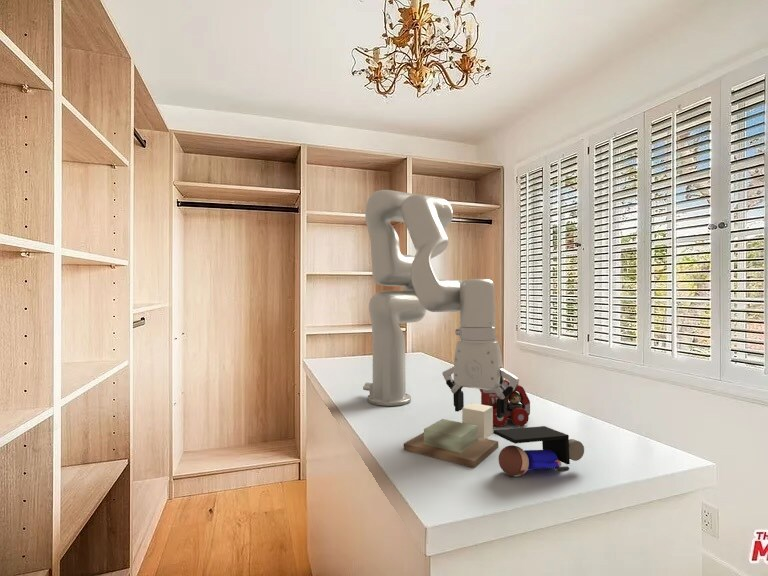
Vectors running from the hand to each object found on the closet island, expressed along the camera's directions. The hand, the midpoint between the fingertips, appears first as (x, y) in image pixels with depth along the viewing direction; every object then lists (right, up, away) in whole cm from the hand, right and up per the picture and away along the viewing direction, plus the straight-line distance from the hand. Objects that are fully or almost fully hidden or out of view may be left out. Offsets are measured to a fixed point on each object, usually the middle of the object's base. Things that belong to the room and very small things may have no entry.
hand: (479, 413), depth 92 cm
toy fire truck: (+8, -5, +9) cm, 13 cm away
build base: (-8, -5, -8) cm, 12 cm away
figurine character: (+6, -5, -18) cm, 20 cm away
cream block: (0, -5, 0) cm, 5 cm away
